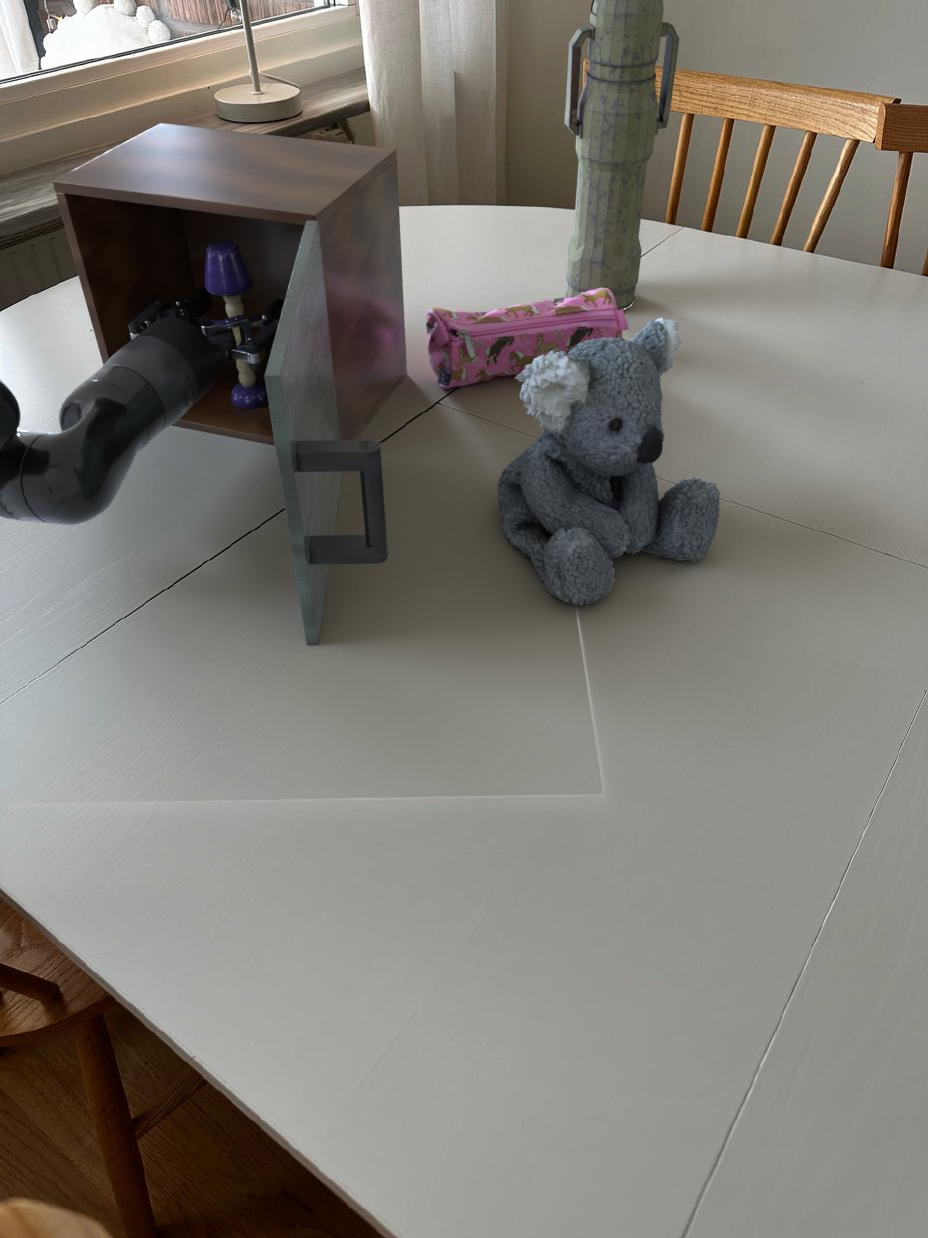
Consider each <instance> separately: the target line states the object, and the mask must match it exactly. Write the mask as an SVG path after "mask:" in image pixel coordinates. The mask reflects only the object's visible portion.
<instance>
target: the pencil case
mask: <svg viewBox="0 0 928 1238" xmlns="http://www.w3.org/2000/svg"><path fill="white" fill-rule="evenodd" d="M626 330H629V324H628V321H627V318H626V315H625V311H623V309H622V310H617V306H616V302H615V298H614V296H613V294H612V292H611V291H610V290H609V289H607V288H598V289H595V290H590V291H587V292H582V293H580V294H579V295H577V296H576V297H574V298H566V297H557V298H547V299H539V300H533V301H528V302H523V303H518V304H513V305H510V306H506V307H501V308H496V309H492V310H489V311H488V310H487V311H464V310H463V311H462V310H452V309H445V308H440V307H432V308H431V309H430V310H428V311H427V312H426V317H425V331H426V338H427V354H428V363H430V367H431V369H432V371H433V373H434V374H435V376H436V381H437V383H438V385H439V386H440V387H441V388H443V389H445V390H447V389H451V388H453V387H464V386H468V385H474V384H476V383H480V382H484V381H485V382H486V381H490V380H492V379H494V378H495V377H507V376H513V375H518V374H520V373H522V371H524V370H525V369H526V367H525V365H529V364H532V362H533V360H534V358H537V357H539V356H542V355H543V354H544V355H545V356H546V355H547V354H548V353H549V352H550V351H554V352H555V353H556V352H560V351H565V352H566V353H569V352H570V350H572V349H573V348H574V347H575V346H576V345H577V344H579V343H581V342H585V341H587V340H591V339H596V338H597V339H598V338H604V337H606V338H611V337H613V338H623V339H624V337H623V336H624V335H623V331H626Z"/></svg>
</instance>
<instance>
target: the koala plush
mask: <svg viewBox="0 0 928 1238" xmlns="http://www.w3.org/2000/svg"><path fill="white" fill-rule="evenodd" d="M679 324H680V322H678V321H676V320H675V319H674V320H670V319H667V318H666V319H665V318H663V315H661V317H659V318H657V319H655V320H651V321H648V322H647V323H646V324H645V326H644V327H643V328H642V329H641V330H640V331H638V332H637V333H636V334H635V335H634V336H633V337H632V339H631V340H628V339H624V337H623V338H613V337H611V338H606V337H604V338H598V339H597V338H596V339H591V340H587V341H585V342H581V343H579V344H577V345H576V346H575V347H574V348H573V349H572V350H570V352H569V353H566V352H565V351H560V352H556V353H555V352H554V351H550V352H549V353H548V354H547V355H546V356H545V355H544V354H543V355H542V356H539V357H537V358H534V360H533V362H532V364H529V365H525V367H526V369H525V370H524V371H522V373H519V374H515V375H516V376H515V377H514V378H513V379H515V380H517V381H518V382H519V383H522V382H523V383H522V385H521V388H520V391H519V394H518V395H519V400H520V401H523V403H524V404H523V408H525V409H526V410H527V411H526V415H531V416H533V417H534V418H535V419H537V420H538V421H539V423H540V425H539V428H542V427H544V430H543V432H542V434H540V435H539V437H538V438H537V439H536V440H534V443H532V444H531V445H530V446H529V447H528V448H526V449H525V450H524V451H523V452H522V453H520V454H518V456H517V457H515V459H514V460H512V461H511V462H510V463H509V464H507V466H506V467H505V468H504V469H503V470H502V472H501V473H500V474H501V475H500V477H499V479H498V483H497V485H496V487H497V489H496V493H497V500H498V510H499V512H500V514H499V515H500V517H501V520H502V521H503V522H502V529H503V532H504V534H505V537H506V538H507V539H509V543H510V545H511V546H512V545H513V547H515V548H518V549H519V550H520V551H521V553H522V554H525V555H527V556H528V557H529V558H530V560H531V563H532V565H533V568H534V569H535V572H536V573H537V576H538V577H539V580H541V581H542V583H543V585H544V587H545V588H546V590H547V591H548V593H549V594H550V595H552V596H554V597H556V598H557V599H558V600H561V601H562V602H563V603H569V604H571V605H572V604H573V605H579V604H580V605H579V606H583V605H584V604H585V605H592V603H595V602H596V601H598V600H599V599H602V598H605V597H607V595H609V593H610V592H611V590H612V585H613V584H615V578H614V577H615V574H616V573H615V567H614V566H613V560H615V558H618V557H621V556H623V555H624V553H627V554H628V555H630V554H632V555H635V554H637V553H640V552H644V553H648V554H650V555H654V556H656V557H661V558H666V559H671V560H676V561H678V562H680V561H691V562H695V561H701V560H704V559H705V556H707V554H708V552H709V550H710V548H711V547H712V544H713V540H714V539H715V536H716V535H717V529H718V523H719V518H720V511H721V508H720V505H721V503H720V501H721V499H720V497H721V492H720V490H719V488H718V486H717V483H715V482H713V481H708V482H707V481H705V480H702V478H701V477H699V478H698V477H696V476H694V477H692V478H687V479H685V478H684V479H683V480H682V479H681V480H680V481H679V482H678V483H675V484H674V486H672V487H670V488H669V489H668V490H667V491H666V492H665V493H664V494H663V496H662V497H661V498H659V496H660V495H659V489H658V488H659V487H658V479H657V474H656V470H655V467H654V464H653V463H655V462H657V461H658V460H659V458H660V457H661V456H662V453H663V448H664V442H665V433H664V430H663V422H662V415H663V414H662V411H663V410H662V409H663V408H662V407H663V406H662V402H663V391H662V388H661V387H662V386H661V385H662V384H661V380H662V376H663V374H664V372H665V373H667V372H668V371H670V369H672V368H673V367H674V363H675V361H676V360H677V359H679V358H678V356H676V352H677V351H679V348H680V347H681V346H680V345H682V340H681V339H680V335H679ZM688 559H689V560H688Z"/></svg>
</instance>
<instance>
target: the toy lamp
mask: <svg viewBox="0 0 928 1238" xmlns="http://www.w3.org/2000/svg"><path fill="white" fill-rule="evenodd" d="M252 286H253V278H252V275H251V273H250V270H249V268H248V266H247V264H246V261H245V259H244V257H243V255H242V253H241V250H240V248H239V247H238V245H237V244H236V243H235V242H232V241H226V240H225V241H217V242H214V243H212V244H210V245H209V246H208V248H207V253H206V268H205V287H206V290H207V291H208V292H210V293H211V294H213V295H217V296H223V298H224V300H225V301H226V312H227V314H228V316H229V318H231V317H234V316H238V315H243V314H244V306H243V303H242V302H241V297H242V293H245V292H247V291H248V290H250V289H251V287H252ZM232 329H233V332H234V335H235V339H236V342H237V345H239V344H240V343H241V336H240V330H239V327H236V328H232ZM236 366H237V369H238V370H239V380H240V382H239V383H238V384H237V385H236V386H235V387H234V389H233V391H232V395H231V400H232V403H233V404H234V405H235V406H237V407H239V408H243V409H255V408H259V407H262V406H264V405H266V404H267V403H269V402H268V396H267V390H266V384H264V383H263V382H261V381H259V380H256V374H255V372H254V371H252V370H250V369H249V363H248V362H247V361H242V360H238V359H237V360H236Z"/></svg>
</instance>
